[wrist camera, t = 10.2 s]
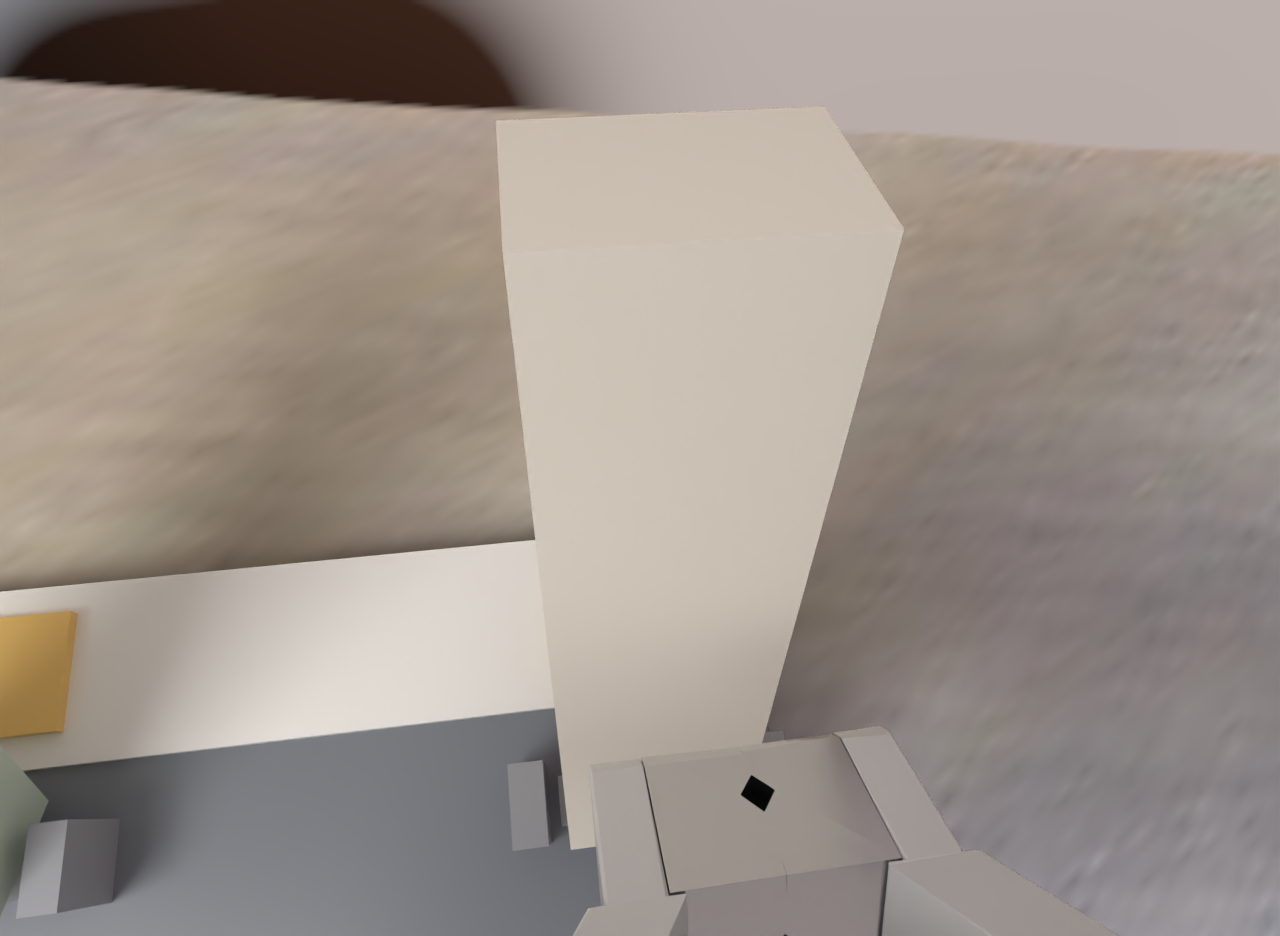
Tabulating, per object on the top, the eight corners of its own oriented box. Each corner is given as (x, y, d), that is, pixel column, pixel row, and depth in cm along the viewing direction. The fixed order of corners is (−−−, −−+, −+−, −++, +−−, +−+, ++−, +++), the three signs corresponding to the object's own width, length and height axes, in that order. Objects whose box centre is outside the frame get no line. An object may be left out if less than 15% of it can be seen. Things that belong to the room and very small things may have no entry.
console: (811, 1068, 18) (861, 1122, 15) (-201, 1240, 16) (-394, 1346, 13) (723, 540, 23) (747, 495, 20) (-81, 620, 21) (-205, 585, 17)
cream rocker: (740, 843, 18) (920, 228, 7) (565, 868, 17) (483, 253, 7) (718, 737, 20) (838, 105, 9) (557, 757, 19) (479, 121, 8)
